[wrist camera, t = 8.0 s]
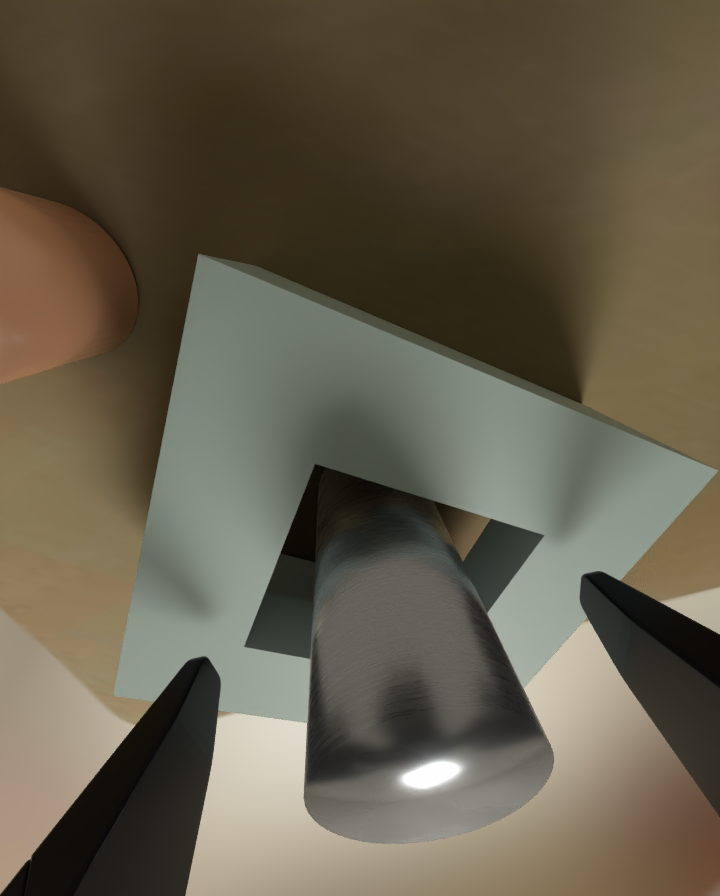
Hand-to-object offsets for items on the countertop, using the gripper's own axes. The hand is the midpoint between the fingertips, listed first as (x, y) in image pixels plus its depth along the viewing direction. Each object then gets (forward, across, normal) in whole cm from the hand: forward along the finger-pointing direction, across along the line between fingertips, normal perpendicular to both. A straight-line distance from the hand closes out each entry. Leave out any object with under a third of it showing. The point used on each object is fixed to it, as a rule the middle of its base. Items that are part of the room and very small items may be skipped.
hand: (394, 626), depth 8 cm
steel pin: (+6, 0, 0) cm, 6 cm away
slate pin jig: (+6, 0, 0) cm, 6 cm away
